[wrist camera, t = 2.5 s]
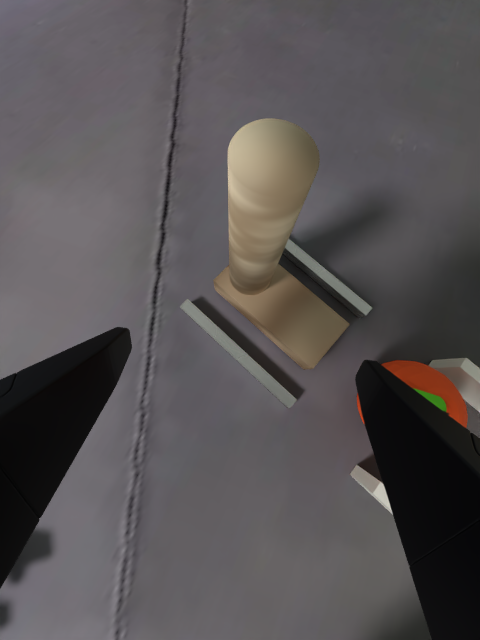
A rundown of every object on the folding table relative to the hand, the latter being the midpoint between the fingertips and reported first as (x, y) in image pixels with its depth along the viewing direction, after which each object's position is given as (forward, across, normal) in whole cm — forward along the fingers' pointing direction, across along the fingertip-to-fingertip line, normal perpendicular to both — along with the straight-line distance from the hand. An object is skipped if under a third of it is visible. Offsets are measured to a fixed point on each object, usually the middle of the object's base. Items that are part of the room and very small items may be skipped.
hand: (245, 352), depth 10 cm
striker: (+13, -3, +5) cm, 15 cm away
